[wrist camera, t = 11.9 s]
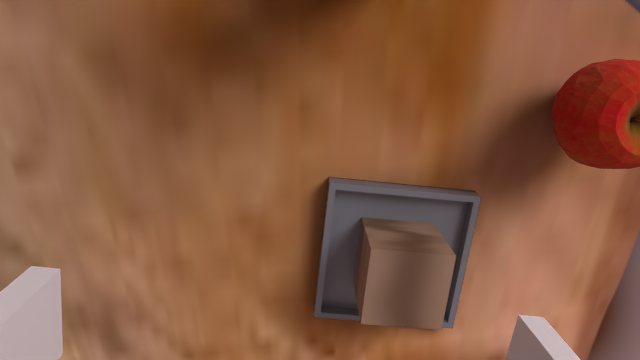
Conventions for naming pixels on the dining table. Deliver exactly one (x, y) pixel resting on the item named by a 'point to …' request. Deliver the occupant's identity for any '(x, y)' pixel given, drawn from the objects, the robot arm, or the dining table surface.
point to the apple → (601, 115)
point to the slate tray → (394, 204)
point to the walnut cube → (402, 274)
